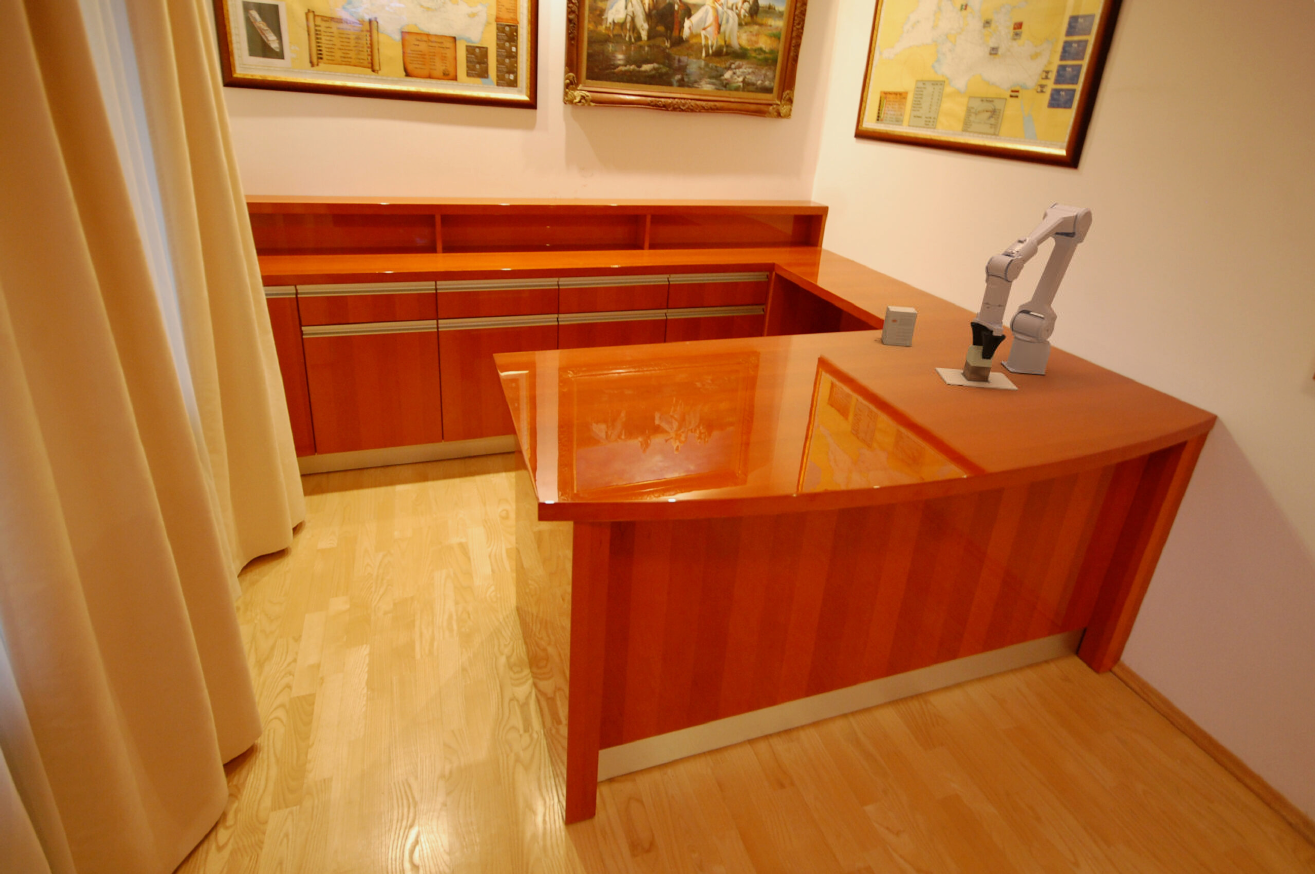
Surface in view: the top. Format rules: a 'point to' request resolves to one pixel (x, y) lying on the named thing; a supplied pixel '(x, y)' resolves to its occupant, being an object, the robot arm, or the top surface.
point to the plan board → (959, 379)
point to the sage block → (977, 357)
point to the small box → (899, 326)
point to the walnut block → (976, 372)
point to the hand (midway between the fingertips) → (981, 354)
